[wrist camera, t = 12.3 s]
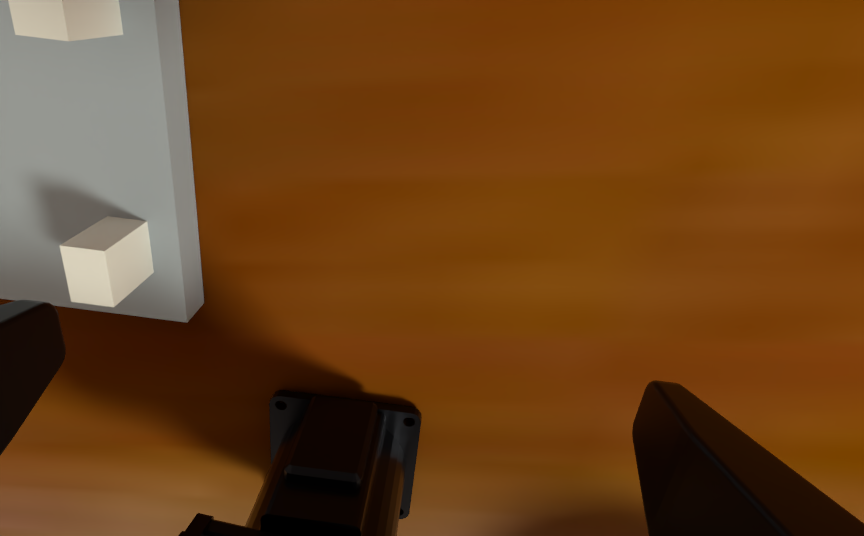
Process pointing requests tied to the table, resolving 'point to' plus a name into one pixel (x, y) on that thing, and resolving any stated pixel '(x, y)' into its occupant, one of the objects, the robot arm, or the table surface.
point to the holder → (97, 158)
